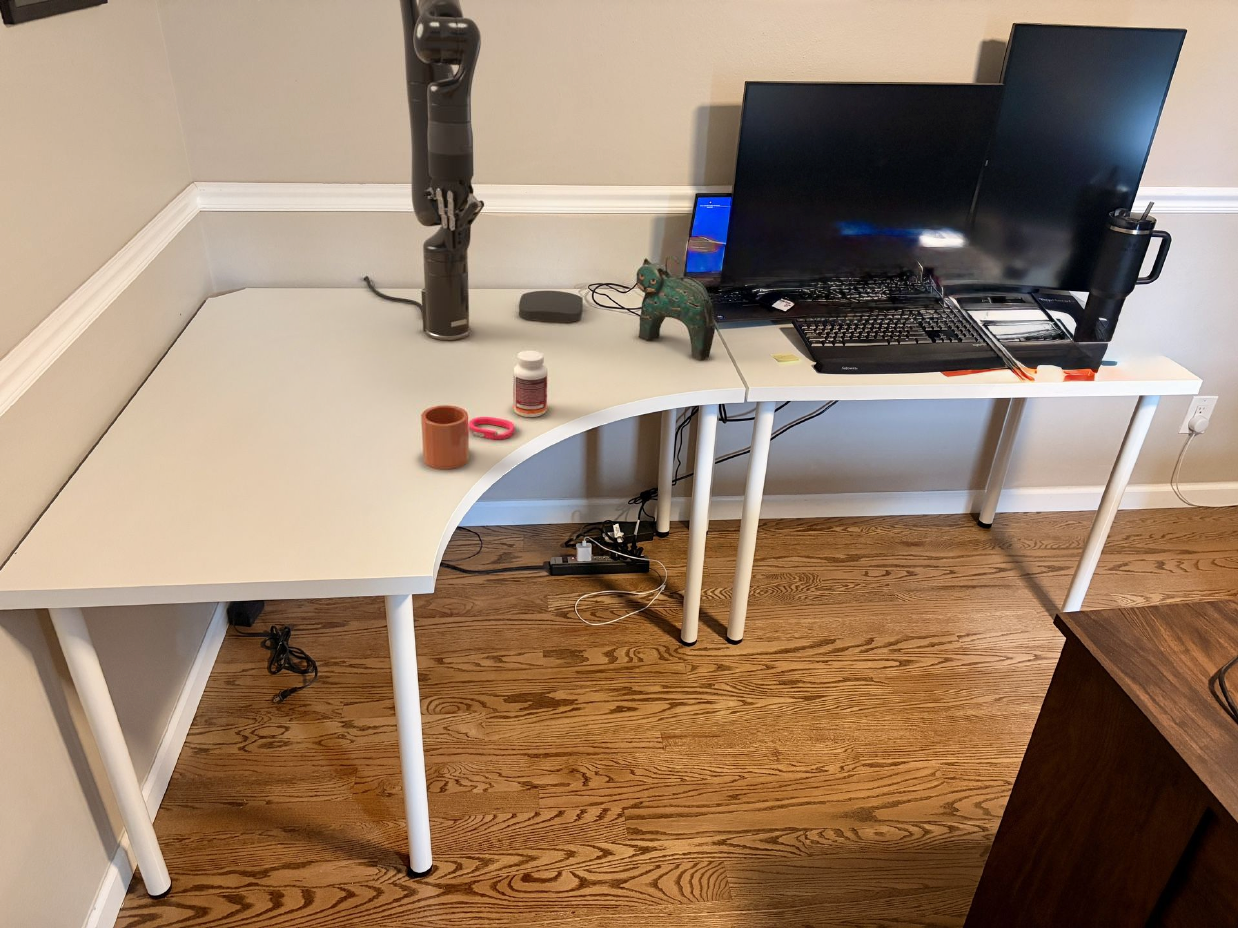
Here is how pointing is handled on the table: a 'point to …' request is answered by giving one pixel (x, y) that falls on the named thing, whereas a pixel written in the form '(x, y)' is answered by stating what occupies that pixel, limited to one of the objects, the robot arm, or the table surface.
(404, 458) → the table surface
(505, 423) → the fitness band
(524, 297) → the media streaming box
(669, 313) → the ceramic cat
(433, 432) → the clay pot
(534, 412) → the pill bottle
